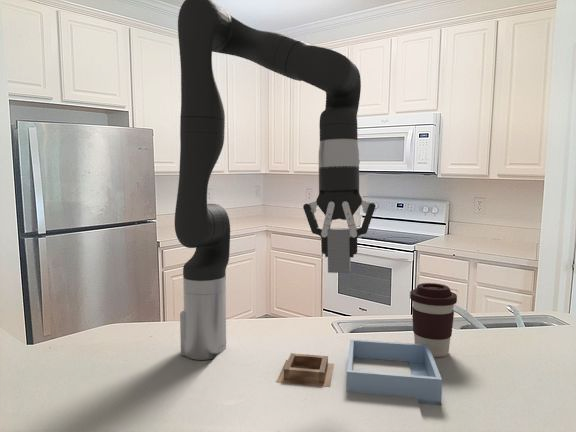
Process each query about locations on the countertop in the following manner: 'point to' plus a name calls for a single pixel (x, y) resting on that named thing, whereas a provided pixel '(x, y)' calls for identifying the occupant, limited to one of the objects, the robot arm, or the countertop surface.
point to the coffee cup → (433, 316)
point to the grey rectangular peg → (339, 250)
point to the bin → (418, 384)
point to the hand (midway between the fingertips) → (339, 256)
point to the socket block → (307, 370)
